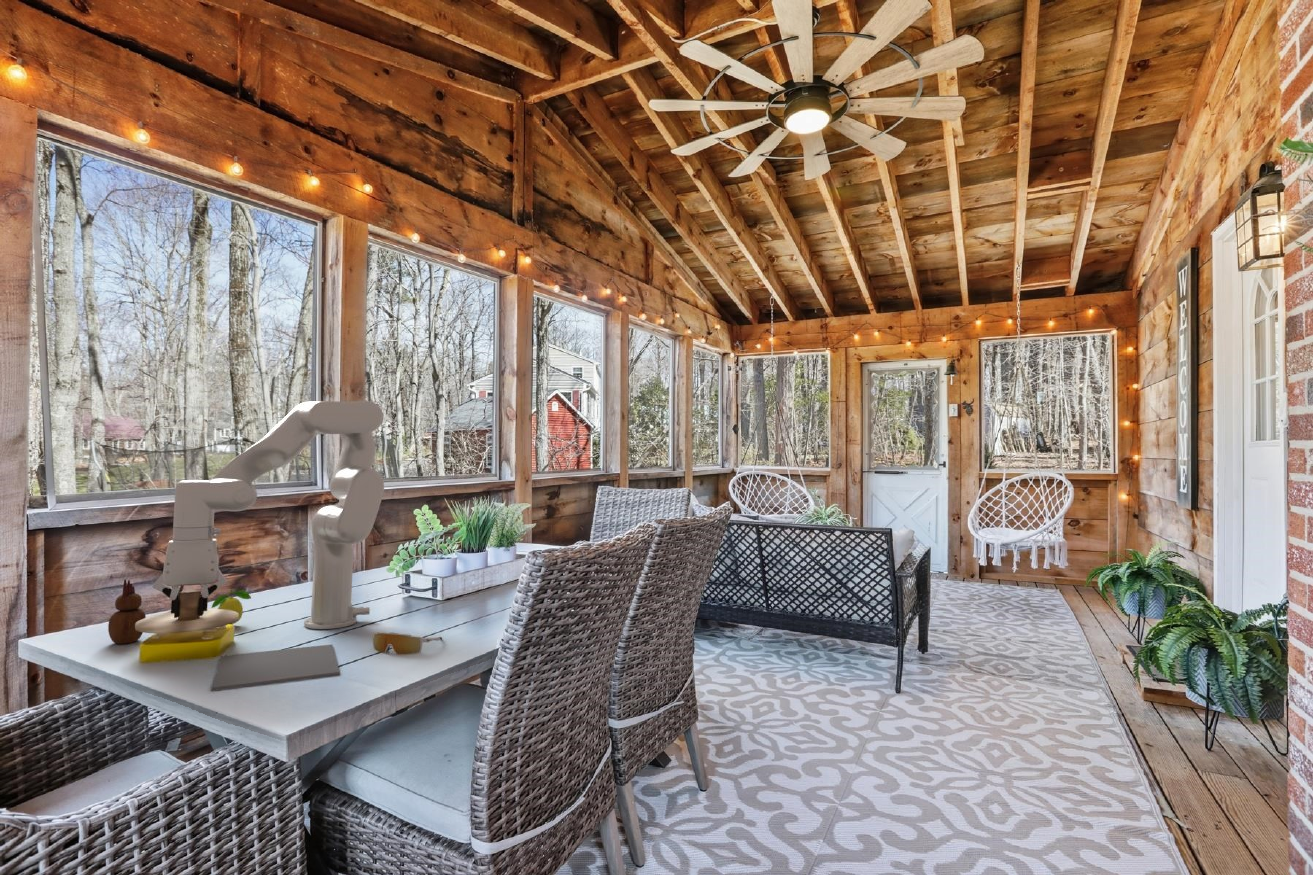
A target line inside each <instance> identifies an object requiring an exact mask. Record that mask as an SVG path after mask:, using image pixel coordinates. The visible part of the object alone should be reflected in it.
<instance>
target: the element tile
mask: <svg viewBox="0 0 1313 875" xmlns="http://www.w3.org/2000/svg"><path fill="white" fill-rule="evenodd" d="M235 628H236V627H235V625H234V624H228V625H225V626H221V627H217V628H212V629H207V630H201V631H193V632H184V633H168V634H156V633H153V634H152V635H151V636H149V637H147V638H146V639H145V640H143V641H142V642H141V643H139V656H138V661H139V663H141V664H142V663H143V664H148V663H165V662H178V661H194V660H210V659H214V658H218V657H221V656H223V654H224V653H225V652H226V651H227V650H228V649H229V648H230V647H231V646H232V645H233V644H234V642H235Z"/></svg>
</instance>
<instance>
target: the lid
mask: <svg viewBox="0 0 1313 875" xmlns="http://www.w3.org/2000/svg"><path fill="white" fill-rule="evenodd" d="M201 594H202V591H201V590H199V589H198V590H195V589H194V590H182V592H180V593H179V615H178V617H177V618H174V613H173V614H171V612H170V613H167V612H165V613H160V614H155V615H151V616H148V617H146V618H144V619H142V620H139V621H138V622H136V624H135V629H136V630H137V631H140V632H143V633H145V634H155V633H156V634H168V633H184V632H193V631H201V630H207V629H212V628H217V627H221V626H225V625H228V624H231V623H233V622H235V621H237V620H238V618H239V614H238V613H237V612H235V611H231V610H224V609H218V608H207V611H204V614H203V616H200V615H199V599H200V598H201Z"/></svg>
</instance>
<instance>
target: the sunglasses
mask: <svg viewBox="0 0 1313 875" xmlns="http://www.w3.org/2000/svg"><path fill="white" fill-rule="evenodd" d="M432 641H436V642H437V641H441V642H442V641H443V637H442V636H438V637H421V636H415V635H414V636H413V635H411V634H406V633H398V632H393V631H392V632H383V631H379V632H378V631H377V632H373V635H372V645H373V649H374V650H375V651H377V652H379V653H383V654H387V653H388V652H389V650H390V647H391V648H392V650H393V652H394V654H395V655H411V654H413V655H417V654H420V653H421V652H422V648H423V643H430V642H432Z"/></svg>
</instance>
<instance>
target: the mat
mask: <svg viewBox="0 0 1313 875" xmlns="http://www.w3.org/2000/svg"><path fill="white" fill-rule="evenodd" d="M339 668H340V667H339V665H338V660H337V657H336V652H335V649H334V645H333V644H331V643H330V644H324V645H323V644H322V645H315V646H305V647H295V648H284V649H275V650H266V651H265V650H263V651H255V652H245V653H235V654H225V655H220V656H219V661H218V664H217V668H216V671H215V675H214V677H213V681H212V684H211V686H210V688H211V690H210V692H212V691H221V690H228V689H237V688H246V687H253V686H261V685H270V684H277V683H278V684H279V683H286V682H292V681H301V680H308V679H310V680H311V679H317V678H323V677H324V678H325V677H333V676H334V677H335V676H340V674H341V673H340V669H339Z"/></svg>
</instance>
